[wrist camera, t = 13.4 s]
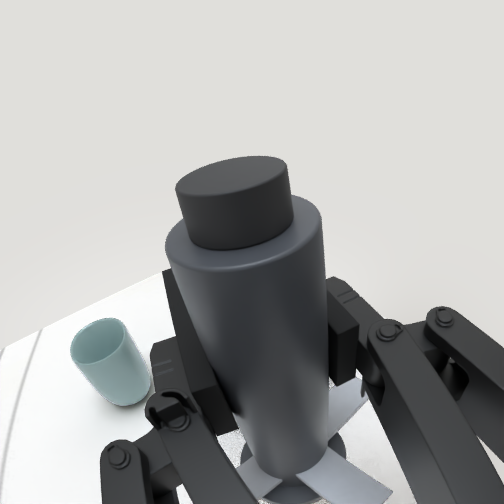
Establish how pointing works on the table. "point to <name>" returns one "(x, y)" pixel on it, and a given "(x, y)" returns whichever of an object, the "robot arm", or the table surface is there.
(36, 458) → the table surface
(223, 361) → the blade
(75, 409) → the table surface
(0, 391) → the table surface
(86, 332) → the cup
